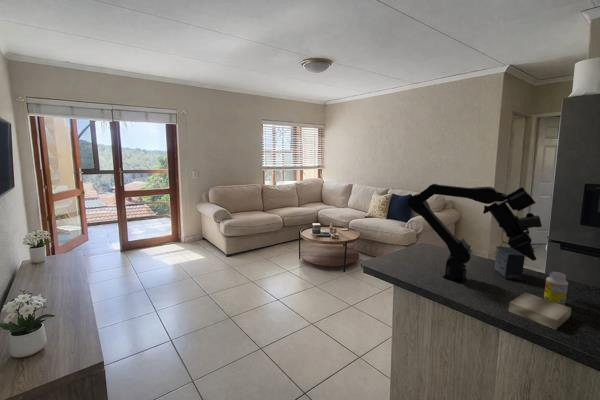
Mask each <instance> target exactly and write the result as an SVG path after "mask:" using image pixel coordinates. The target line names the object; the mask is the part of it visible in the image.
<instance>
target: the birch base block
mask: <svg viewBox="0 0 600 400" xmlns="http://www.w3.org/2000/svg"><path fill="white" fill-rule="evenodd" d="M507 310H508V312H510V313H512V314H514V315H518V316H520V317H522V318H524V319H527V320H530V321H532V322H535V323H538V324H540V325H543V326H544V327H547V326H548V327H547V328H551V329H552V330H557V329H559V328H560V326H562V325H563V324H564V323H565V322H567V321H568V320H569V318H571V313H572V307H570V306H567V305H561V304H558V303H555V302H552V301H549V300H546V299H544V297H543V298H542V297H539V296H536V295H534V294H530V293H528V292H524V293H522V294H521V295H519V296H517V297H515V298H514V299H513V300H511V301H509V304H508V309H507ZM558 327H559V328H558Z"/></svg>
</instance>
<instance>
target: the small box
mask: <svg viewBox="0 0 600 400" xmlns="http://www.w3.org/2000/svg"><path fill="white" fill-rule="evenodd" d="M525 259H526V256H525V255H523V254H522V253H520V252H518V251H517V250H515V249H513V248H511V247H510V246H508V247H507V246H500V245H499V246H498V245H497V246H496V253H495V259H494V266H493V270H494V271H495V272H496V273H497V274H498V275H500V276H501V277H502V278H503V279H505V280H515V281H523V280H522V279H523V272H524V264H525Z"/></svg>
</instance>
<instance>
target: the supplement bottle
mask: <svg viewBox="0 0 600 400" xmlns="http://www.w3.org/2000/svg"><path fill="white" fill-rule="evenodd" d="M566 279H567V275H566V274H564V273H562V272H558V271H550V273H549V276H547V277H546V279H545V285H544V293H543V299H546V300H549V301H552V302H555V303H558V304H561V305H564V306H566V300H567V294H568V287H569V281H568V280H566Z"/></svg>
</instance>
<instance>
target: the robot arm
mask: <svg viewBox="0 0 600 400" xmlns="http://www.w3.org/2000/svg"><path fill="white" fill-rule="evenodd" d="M435 195H438V196H447V197H454V198H455V197H456V198H463V199H469V200H471V201H472V200H473V201H475V202H478V203H481V204H485V205H484V206H483V212H482V213H483V214H487V213H490V214H491V216H492V217H493V219H494V220H496V223H497V224H498V226H499V228H501V230H503V232H504V233H505V237H507V244H508V247H511V248H513V249H515V250H517V251H518V252H520V253H522V254H523V255H525V258H526V257H527V258H528V259H529V260H531V261H536V260H537V257H536V255H535V250H534V247H533V246H532V237H531V235H530V230H529V229H530V228H542V227H543V225H542V222H541V220H542V219H541V217H540V216H539V215H537V214H536V215H535V214H534V213H533V212H527V213H526V215H525V216H523V217H518V215H516V214H515V213H513V212H512V211H518V212H520V211H523V210H524V209H526V208H529V207H531V206H533V205H534V204H536V201H535V200H534V199H533V197H532V196H531V194H530V193H529V192H527V191H526V189H525V188H524V187H523V186H520V187H519V188H517V189H516V190H514V191H511V192H510V193H508V194H505V193H503V192H499V191H497V189H496V188H494V187H493V186H478V187H462V186H456V185H455V186H453V185H447V184H446V185H445V184H438V183H432V184H430V185H429V186H428V187H427V188H426V189H424V190H422V191H421V192H420V193H416V194H413V195H411V196H410V197H409V198H408V200H407V206H408V207H409V209H410V210H412V211H413V212H414V213H416V214H417V215H419V216H420V217H422V218H423V219H424V221H426V222H427V224H428V225H429V226H430V227H431V228H432V230H434V232H435V233H436V235H438V237H440V239H441V240H442V241H443V242H444V243H445V244H446V246H447V248H448V251H449V253H450V254H449V255H448V258H447V259H446V261H445V270H444V271H445V273H444V275H442V278H444V279H446V280H449V281H451V282H455V283H461V282H464V281H466V280H467V268H466V266H467V265H466V264H467V263H468V262H469V261H470V260H471V257H472V249H471V245H469V243H467V241H466V240H465V239H464V238H461V240H460V239H459V238H457V236H454V234H453V233H452V232H451V231H450V230H449V229H448V228H447V226H446V225H445V224H444V223H443V222H442V220H441V219H440V218H439V217H438V216H437V215H436V214H435V212H433V211H432V209H431V206H430V205H429V202H428V201H427V200H429V199H431V197H433V196H435ZM506 203H507V204H508V205H509V206H508V205H507V204H506ZM511 209H512V210H511Z"/></svg>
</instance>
